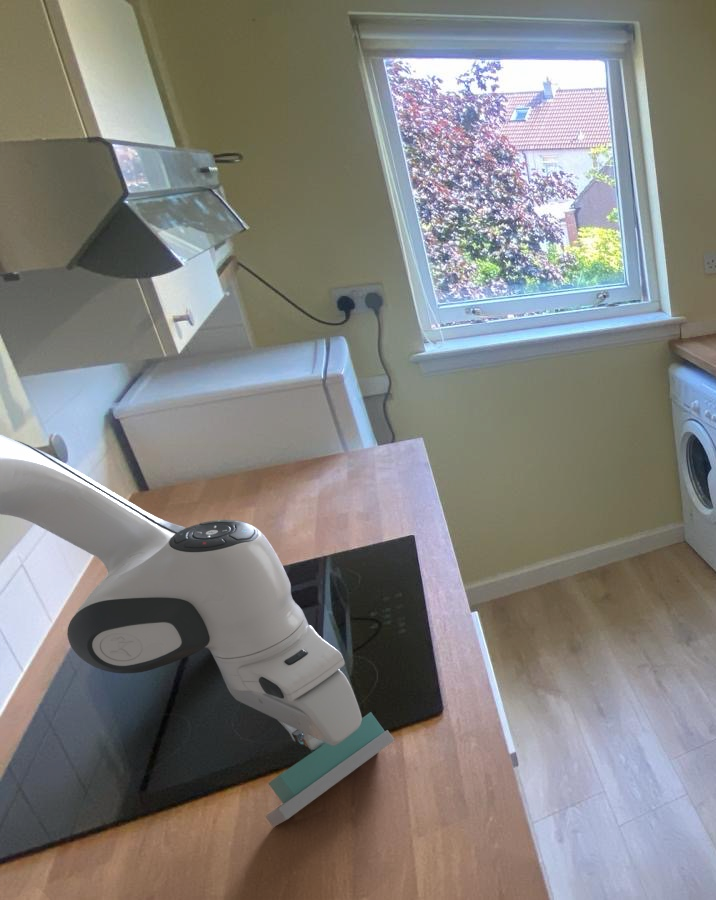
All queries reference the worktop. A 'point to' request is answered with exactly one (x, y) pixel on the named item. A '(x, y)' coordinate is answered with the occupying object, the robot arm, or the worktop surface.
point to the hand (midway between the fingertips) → (310, 742)
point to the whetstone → (326, 768)
